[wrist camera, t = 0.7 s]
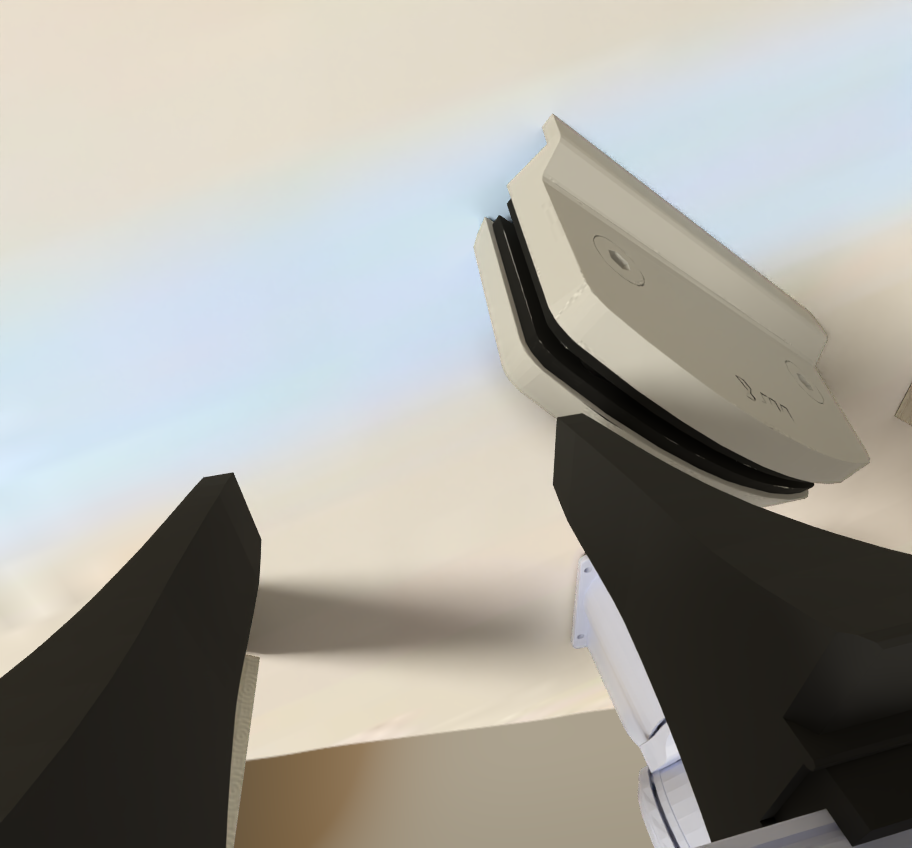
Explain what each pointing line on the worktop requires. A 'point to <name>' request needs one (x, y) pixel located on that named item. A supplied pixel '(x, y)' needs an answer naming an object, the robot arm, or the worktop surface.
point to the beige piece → (657, 330)
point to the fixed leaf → (906, 408)
